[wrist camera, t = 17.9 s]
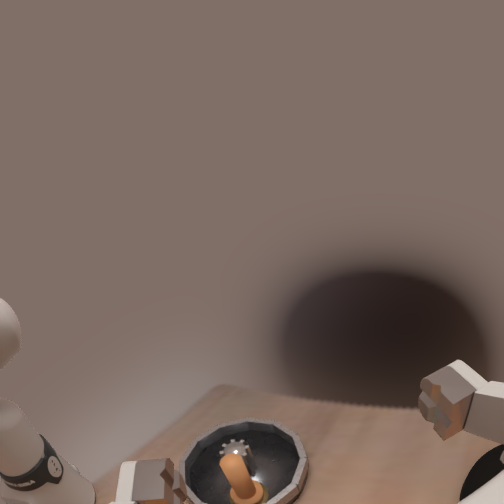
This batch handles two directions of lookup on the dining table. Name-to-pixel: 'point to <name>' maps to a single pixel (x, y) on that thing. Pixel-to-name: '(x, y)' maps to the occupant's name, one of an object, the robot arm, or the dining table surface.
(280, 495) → the bowl
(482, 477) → the wireless charger
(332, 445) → the dining table surface
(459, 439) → the dining table surface
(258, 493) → the peg on round base
